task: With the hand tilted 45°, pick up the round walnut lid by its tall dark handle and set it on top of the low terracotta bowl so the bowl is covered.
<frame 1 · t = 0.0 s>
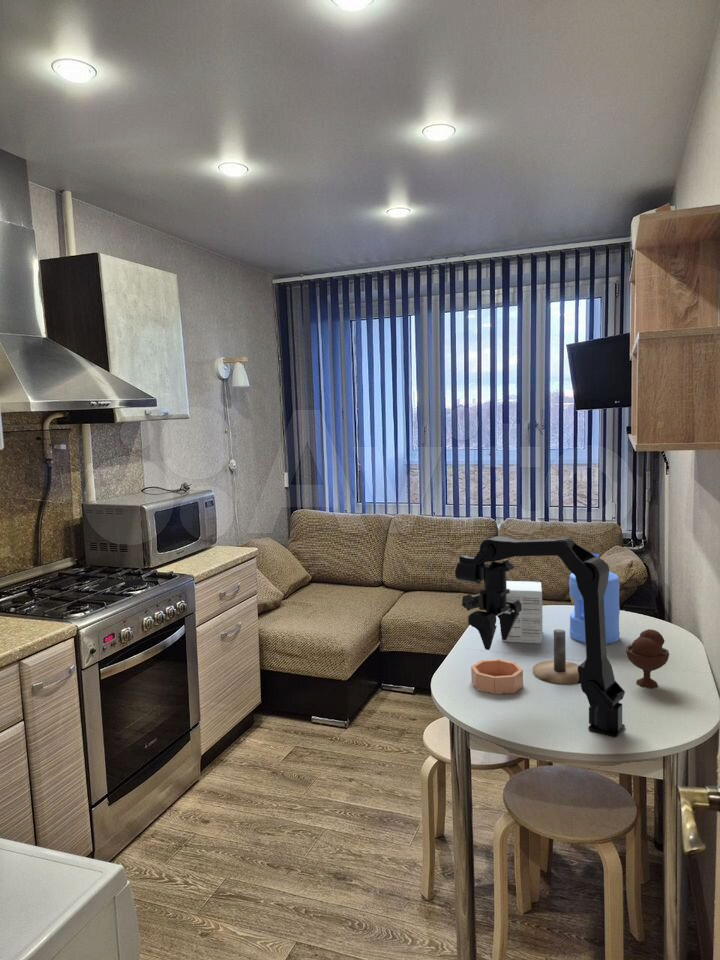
hand: (495, 644, 168), 15 cm above the table, tool pointing down, fingers open, 9 cm apart
water jug: (594, 638, 215), on the table
terracotta bowl: (497, 684, 179), on the table
supplement box: (522, 637, 218), on the table
ice cream bowl: (646, 684, 176), on the table
walnut lid: (559, 674, 185), on the table
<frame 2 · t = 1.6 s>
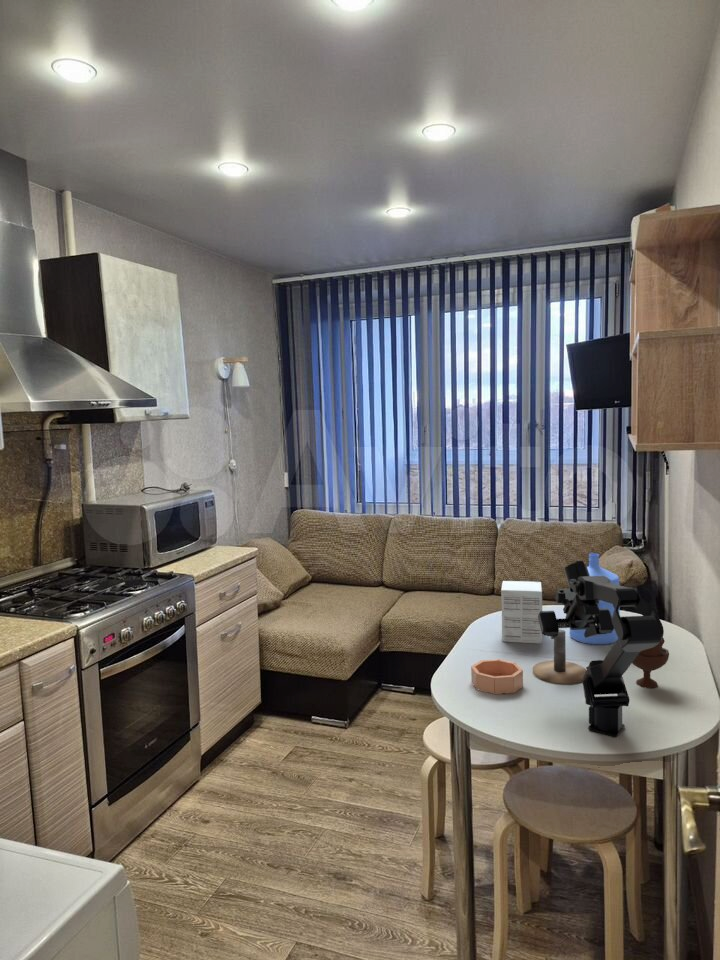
hand: (568, 636, 176), 13 cm above the table, tool tilted 45°, fingers open, 9 cm apart
nothing on the table moved.
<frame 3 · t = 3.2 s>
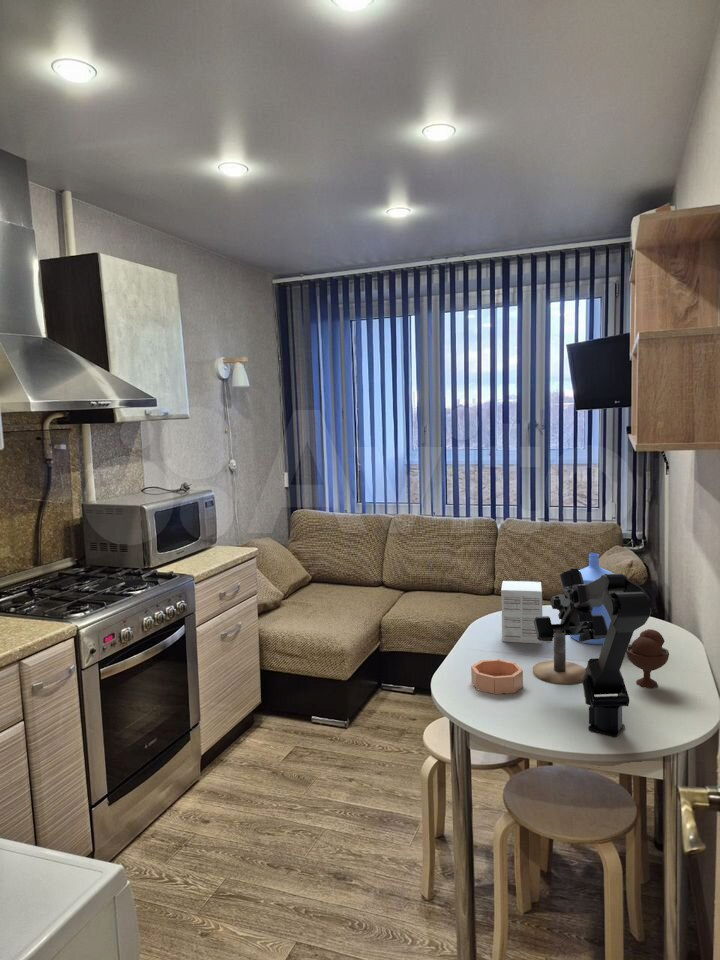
hand: (563, 641, 181), 11 cm above the table, tool tilted 45°, fingers open, 9 cm apart
nothing on the table moved.
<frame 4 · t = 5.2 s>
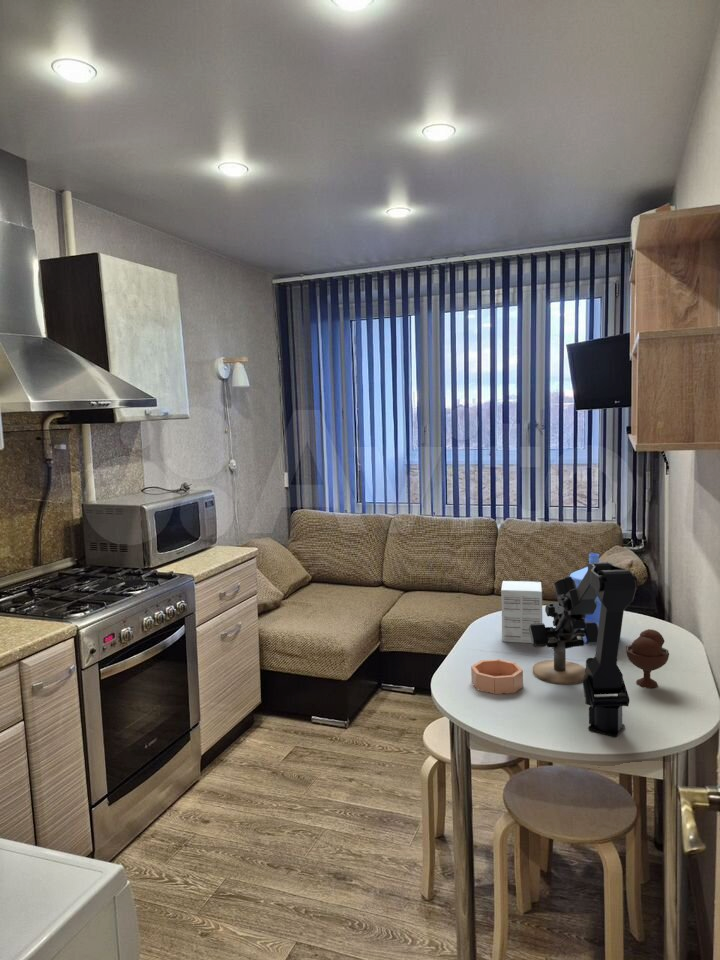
hand: (558, 647, 186), 7 cm above the table, tool tilted 45°, fingers closed on walnut lid, 3 cm apart
walnut lid: (559, 673, 185), on the table, touching gripper
everything else where it was.
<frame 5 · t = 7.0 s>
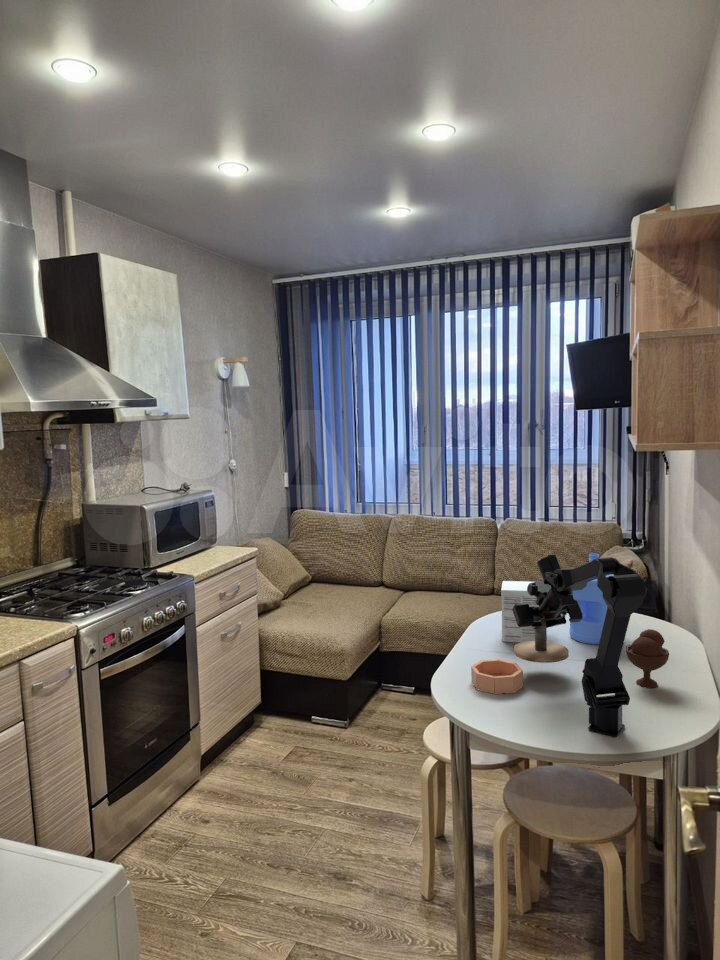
hand: (538, 627, 185), 13 cm above the table, tool tilted 45°, fingers closed on walnut lid, 3 cm apart
walnut lid: (540, 653, 184), point 6 cm above the table, touching gripper
everything else where it was.
when the fingers open (12 cm above the table, at t = 8.8 s): walnut lid stays where it is, resting on terracotta bowl.
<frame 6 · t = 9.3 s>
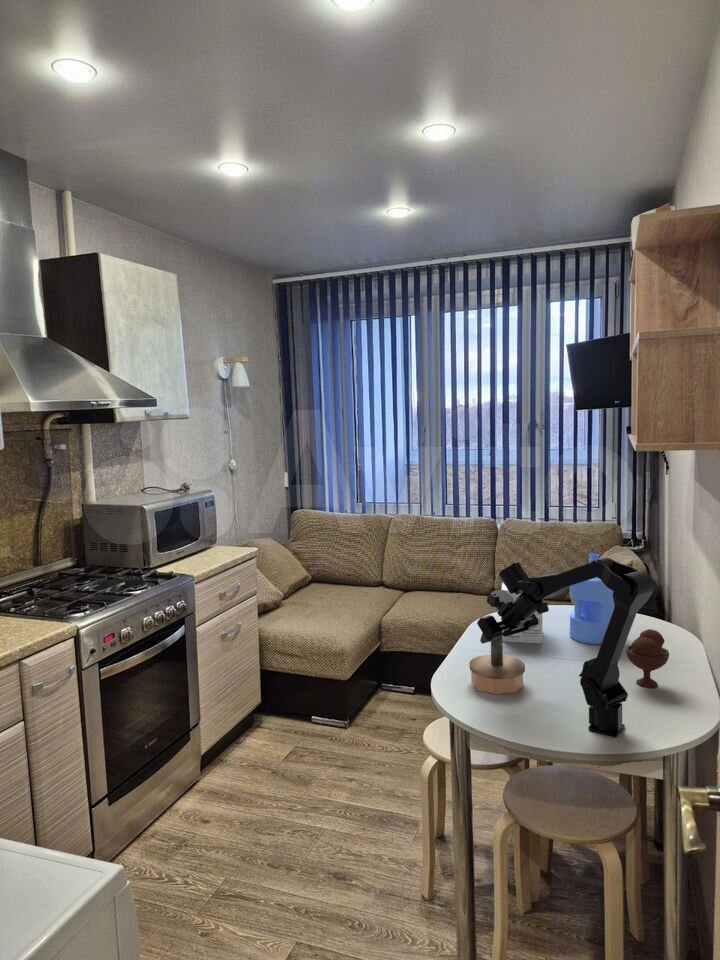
hand: (492, 638, 179), 13 cm above the table, tool tilted 45°, fingers open, 8 cm apart
walnut lid: (497, 668, 179), point 4 cm above the table, touching terracotta bowl
everything else where it was.
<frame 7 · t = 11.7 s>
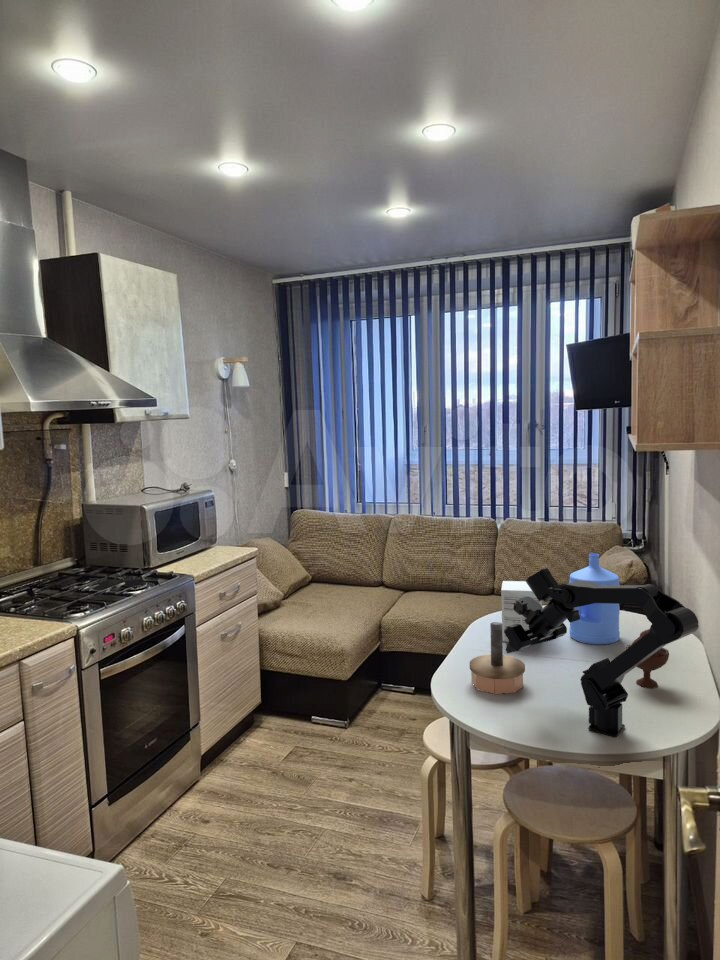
hand: (518, 647, 172), 12 cm above the table, tool tilted 45°, fingers open, 9 cm apart
nothing on the table moved.
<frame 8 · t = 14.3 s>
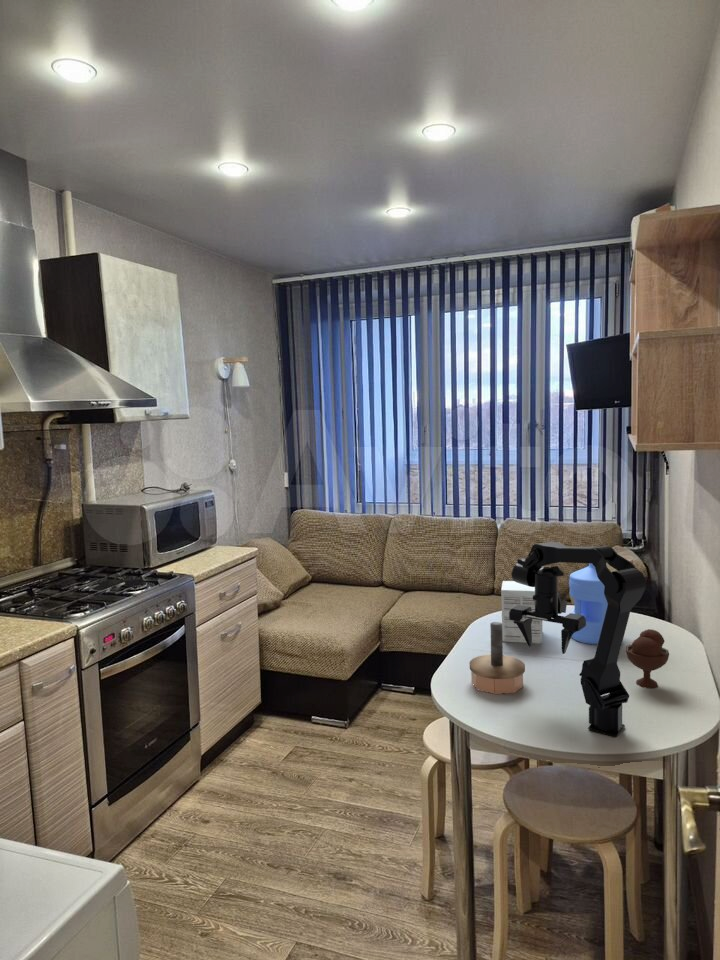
hand: (546, 649, 168), 13 cm above the table, tool pointing down, fingers open, 9 cm apart
nothing on the table moved.
at the end: walnut lid 0.1 cm off-centre on the terracotta bowl, point 4.5 cm above the terracotta bowl's base; walnut lid tilted 0°; the gripper is holding nothing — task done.
